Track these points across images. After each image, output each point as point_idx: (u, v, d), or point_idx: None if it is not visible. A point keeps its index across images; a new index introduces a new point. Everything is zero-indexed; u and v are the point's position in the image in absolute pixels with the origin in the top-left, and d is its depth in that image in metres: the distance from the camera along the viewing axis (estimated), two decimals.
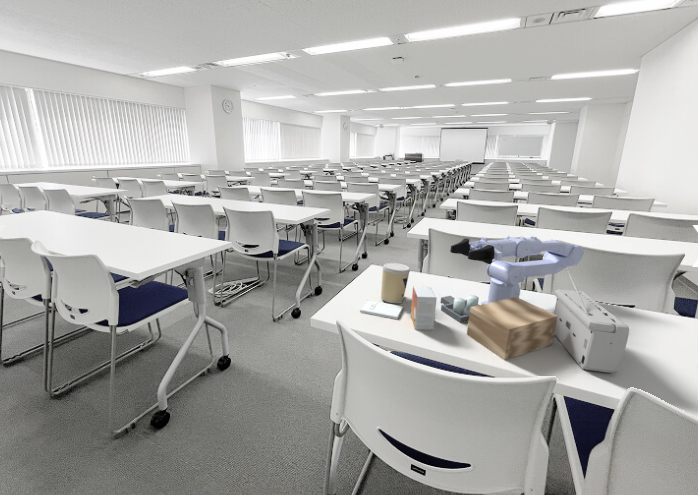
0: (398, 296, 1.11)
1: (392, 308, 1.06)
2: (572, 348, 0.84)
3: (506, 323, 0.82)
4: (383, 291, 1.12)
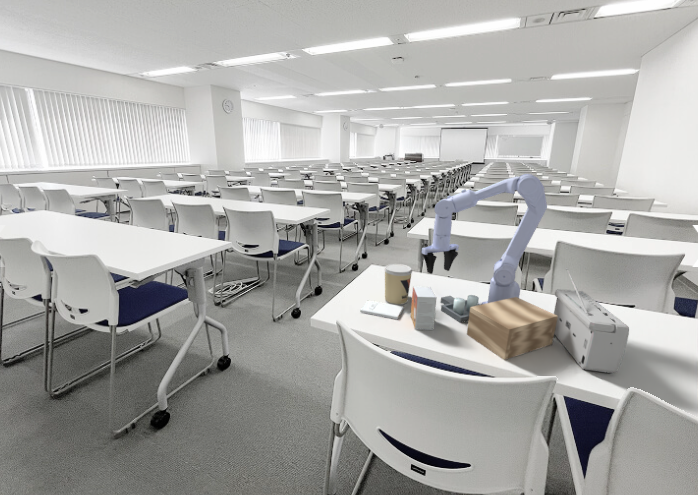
0: (398, 298, 1.10)
1: (392, 308, 1.06)
2: (572, 348, 0.84)
3: (506, 323, 0.82)
4: (385, 291, 1.14)
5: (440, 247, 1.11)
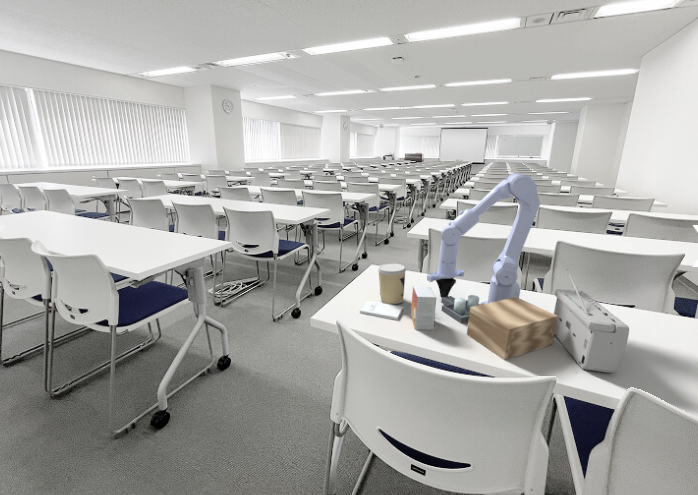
0: (398, 296, 1.10)
1: (392, 309, 1.06)
2: (572, 348, 0.84)
3: (506, 323, 0.82)
4: (382, 294, 1.11)
5: (446, 274, 1.10)
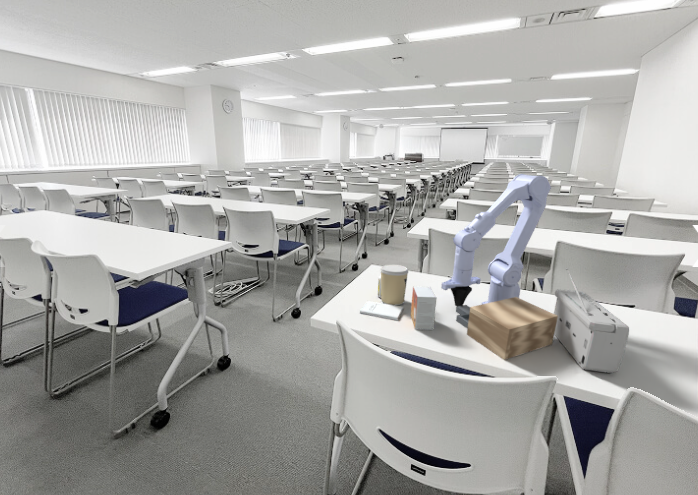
0: (401, 297, 1.10)
1: (392, 309, 1.06)
2: (572, 348, 0.84)
3: (506, 323, 0.82)
4: (385, 295, 1.10)
5: (461, 282, 1.03)
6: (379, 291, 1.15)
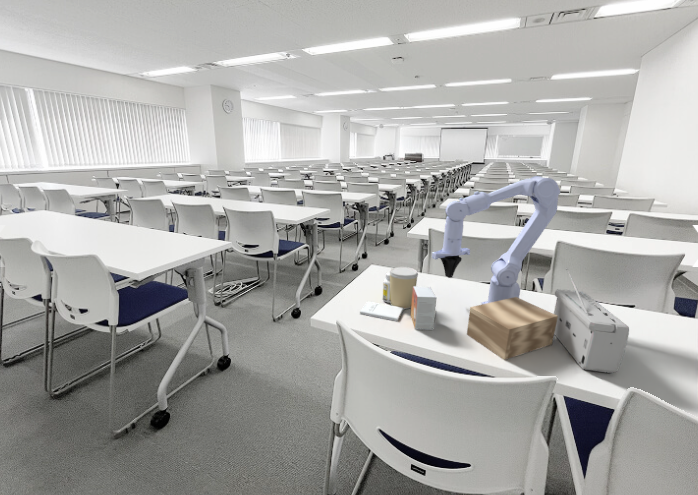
0: None
1: (392, 310, 1.05)
2: (572, 348, 0.84)
3: (506, 323, 0.82)
4: (399, 300, 1.07)
5: (451, 251, 1.06)
6: (387, 296, 1.12)
